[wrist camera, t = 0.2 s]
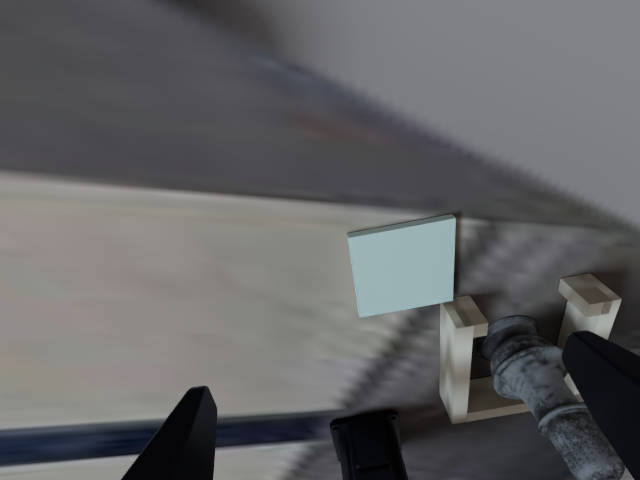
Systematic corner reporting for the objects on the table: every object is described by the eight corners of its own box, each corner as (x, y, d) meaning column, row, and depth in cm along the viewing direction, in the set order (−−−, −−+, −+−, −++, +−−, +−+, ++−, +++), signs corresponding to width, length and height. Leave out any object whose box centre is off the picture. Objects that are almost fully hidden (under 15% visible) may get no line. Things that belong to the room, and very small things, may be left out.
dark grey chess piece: (465, 329, 29) (563, 495, 19) (537, 302, 28) (682, 460, 18) (480, 371, 32) (572, 535, 22) (546, 348, 31) (675, 507, 21)
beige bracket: (562, 371, 33) (585, 401, 30) (439, 393, 33) (452, 424, 30) (590, 273, 27) (622, 298, 24) (440, 300, 27) (456, 328, 25)
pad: (449, 295, 27) (452, 300, 26) (358, 312, 27) (359, 317, 27) (452, 214, 23) (455, 218, 23) (346, 233, 23) (348, 238, 23)
